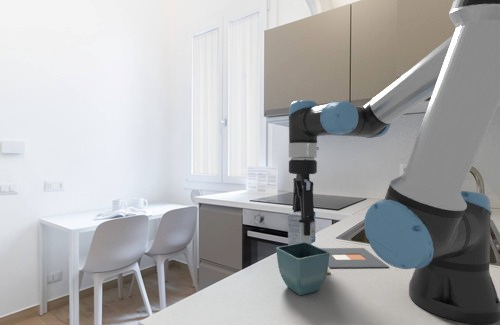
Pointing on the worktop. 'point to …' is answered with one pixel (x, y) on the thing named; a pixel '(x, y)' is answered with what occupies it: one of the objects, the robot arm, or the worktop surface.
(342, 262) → the mat
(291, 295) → the worktop surface
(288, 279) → the flower pot
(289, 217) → the medicine box
